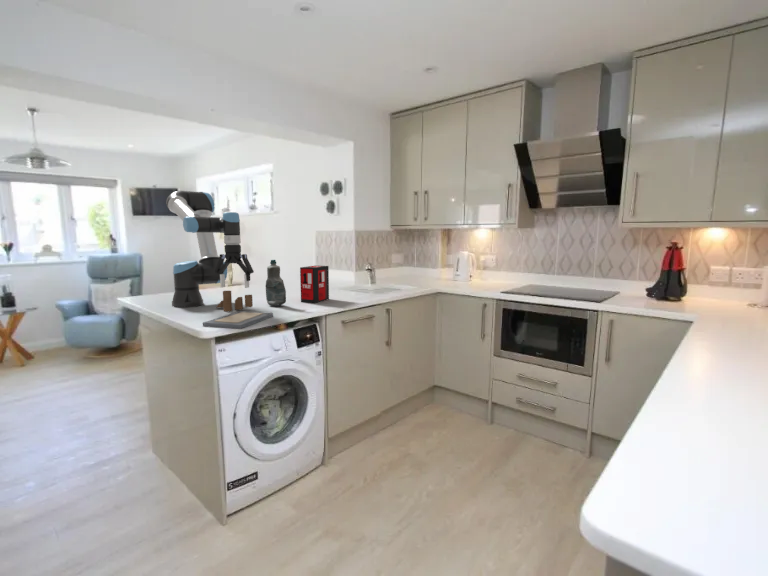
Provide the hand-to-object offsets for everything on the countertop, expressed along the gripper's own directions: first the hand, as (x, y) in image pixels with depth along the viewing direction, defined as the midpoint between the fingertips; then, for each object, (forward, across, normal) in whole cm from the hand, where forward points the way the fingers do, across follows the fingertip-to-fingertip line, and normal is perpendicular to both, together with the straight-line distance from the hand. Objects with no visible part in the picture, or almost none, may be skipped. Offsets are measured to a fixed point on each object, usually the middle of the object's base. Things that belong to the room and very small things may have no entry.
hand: (234, 287), depth 197 cm
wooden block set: (+12, -3, +2) cm, 13 cm away
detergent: (+12, +11, +20) cm, 26 cm away
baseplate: (+13, +14, -19) cm, 27 cm away
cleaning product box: (+12, +24, +41) cm, 50 cm away
